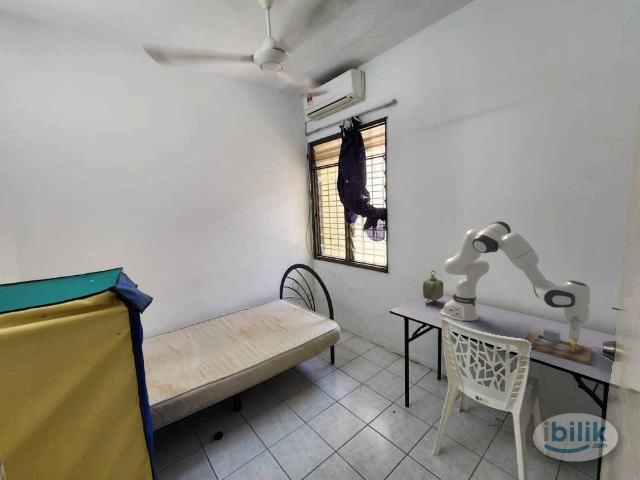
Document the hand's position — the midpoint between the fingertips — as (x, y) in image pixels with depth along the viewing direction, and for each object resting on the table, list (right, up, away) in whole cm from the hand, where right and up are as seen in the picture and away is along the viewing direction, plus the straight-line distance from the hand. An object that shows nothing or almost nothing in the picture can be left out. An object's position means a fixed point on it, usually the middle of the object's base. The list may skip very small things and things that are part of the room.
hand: (574, 341), depth 129 cm
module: (-9, -3, +3) cm, 10 cm away
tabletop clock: (-39, +2, +70) cm, 80 cm away
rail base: (-7, -4, +2) cm, 9 cm away
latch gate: (-3, -3, -3) cm, 5 cm away
